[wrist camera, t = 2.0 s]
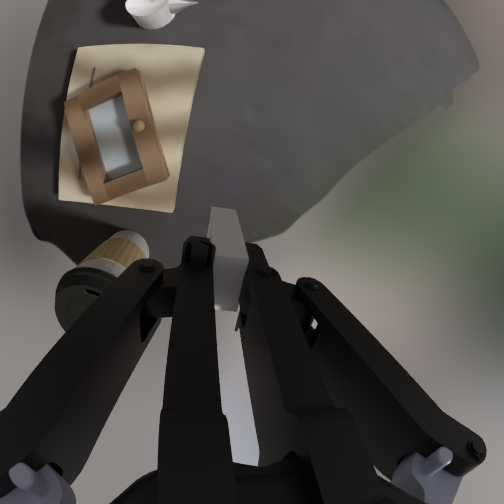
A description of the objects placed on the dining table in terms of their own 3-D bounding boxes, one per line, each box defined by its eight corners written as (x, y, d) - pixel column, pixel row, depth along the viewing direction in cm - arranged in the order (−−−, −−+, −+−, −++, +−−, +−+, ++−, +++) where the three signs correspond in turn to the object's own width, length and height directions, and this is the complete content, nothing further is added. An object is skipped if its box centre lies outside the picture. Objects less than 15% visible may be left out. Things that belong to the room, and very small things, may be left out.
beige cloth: (84, 50, 21) (78, 47, 20) (204, 52, 25) (204, 48, 23) (65, 195, 30) (58, 200, 28) (174, 207, 33) (172, 213, 31)
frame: (74, 102, 23) (60, 102, 20) (141, 72, 23) (133, 66, 20) (103, 199, 29) (92, 208, 26) (170, 175, 29) (164, 182, 26)
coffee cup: (94, 270, 35) (53, 339, 22) (101, 208, 32) (46, 264, 18) (154, 288, 38) (135, 367, 25) (169, 228, 34) (146, 297, 21)
